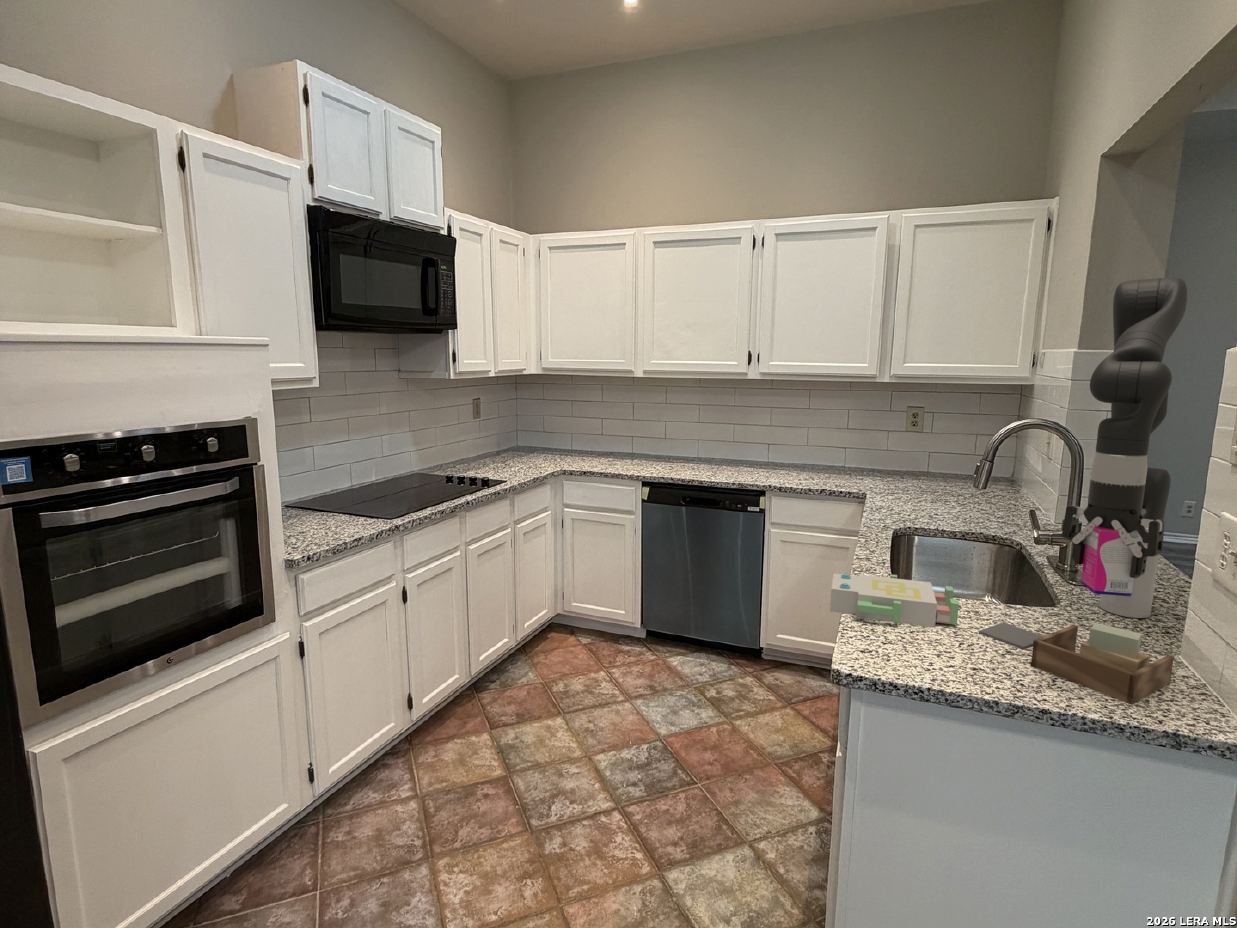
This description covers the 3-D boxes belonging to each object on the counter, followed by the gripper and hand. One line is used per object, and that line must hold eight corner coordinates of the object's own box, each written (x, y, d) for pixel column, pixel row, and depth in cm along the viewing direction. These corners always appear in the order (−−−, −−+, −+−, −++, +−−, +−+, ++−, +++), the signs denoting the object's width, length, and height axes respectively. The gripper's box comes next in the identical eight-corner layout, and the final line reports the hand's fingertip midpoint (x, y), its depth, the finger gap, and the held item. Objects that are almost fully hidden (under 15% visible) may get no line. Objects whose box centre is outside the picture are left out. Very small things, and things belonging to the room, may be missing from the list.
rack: (1070, 648, 128) (1073, 624, 128) (1170, 682, 115) (1174, 656, 114) (1030, 665, 121) (1033, 640, 120) (1132, 704, 107) (1135, 676, 107)
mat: (1003, 624, 140) (1003, 622, 140) (1047, 639, 132) (1047, 637, 132) (978, 633, 136) (979, 630, 135) (1023, 649, 128) (1023, 647, 128)
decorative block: (830, 591, 142) (834, 565, 161) (828, 619, 143) (833, 590, 162) (961, 607, 133) (950, 577, 152) (959, 637, 134) (947, 604, 153)
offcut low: (1091, 657, 125) (1093, 637, 125) (1147, 676, 118) (1150, 655, 117) (1078, 663, 123) (1080, 643, 122) (1134, 683, 115) (1137, 662, 114)
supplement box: (1116, 585, 116) (1124, 523, 114) (1132, 597, 111) (1140, 532, 109) (1079, 582, 118) (1086, 521, 116) (1092, 594, 112) (1100, 530, 110)
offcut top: (1092, 640, 124) (1095, 622, 123) (1139, 651, 119) (1141, 633, 118) (1088, 646, 121) (1090, 628, 120) (1135, 658, 116) (1138, 640, 115)
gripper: (1178, 484, 107) (1165, 578, 109) (1082, 471, 119) (1072, 556, 122) (1158, 488, 103) (1145, 586, 106) (1060, 474, 115) (1051, 562, 118)
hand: (1106, 570), depth 114 cm, fingers closed on supplement box, 8 cm apart
